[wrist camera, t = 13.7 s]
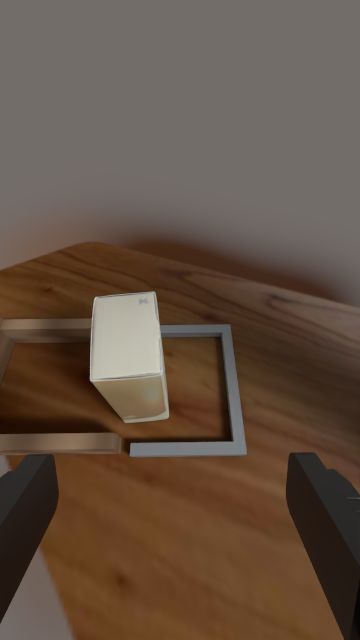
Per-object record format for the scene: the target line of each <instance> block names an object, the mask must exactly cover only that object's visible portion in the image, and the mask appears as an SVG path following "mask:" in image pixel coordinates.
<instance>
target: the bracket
mask: <svg viewBox="0 0 360 640" xmlns="http://www.w3.org/2000/svg"><path fill="white" fill-rule="evenodd" d="M160 331H161V337H221V342H222V352H223V361H224V371H225V381H226V390H227V400H228V409H229V419H230V429H231V438H232V442H173V443H131V445H130V456H131V457H180V456H245V455H246V454H247V451H246V443H245V435H244V428H243V420H242V412H241V404H240V396H239V389H238V381H237V373H236V365H235V357H234V350H233V342H232V334H231V326H230V324H215V325H160Z"/></svg>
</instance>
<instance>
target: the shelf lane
mask: <svg viewBox="0 0 360 640" xmlns="http://www.w3.org/2000/svg"><path fill="white" fill-rule="evenodd" d="M91 326H92V318H85V319H3V318H2V317H1V316H0V385H1V382H2V379H3V376H4V374H5V371H6V368H7V365H8V362H9V359H10V356H11V353H12V350H13V348H14V345H15V343H76V342H91ZM121 442H122V439H121V438H120V437H119V436H118V435H117V434H116V433H57V434H0V455H29V454H120V453H121Z"/></svg>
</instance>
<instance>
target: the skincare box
mask: <svg viewBox="0 0 360 640" xmlns="http://www.w3.org/2000/svg"><path fill="white" fill-rule="evenodd" d="M90 381H91V382H92V383H93V384H94V386H95V387H96V388H97V389H98V391H99V392H100V393H101V394H102V396H103V397H104V398H105V399H106V400H107V402H108V403H109V404H110V405H111V406H112V408H113V409H114V410H115V411H116V412H117V414H118V415H119V416H120V417H121V419H122V420H123V421H124V422H125V423H132V422H144V421H153V420H162V419H167V418H168V417H169V408H168V395H167V384H166V374H165V366H164V358H163V349H162V340H161V331H160V323H159V315H158V306H157V298H156V293H155V292H141V293H130V294H118V295H108V296H102V297H95V299H94V304H93V313H92V326H91V347H90Z"/></svg>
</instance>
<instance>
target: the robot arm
mask: <svg viewBox="0 0 360 640" xmlns="http://www.w3.org/2000/svg"><path fill="white" fill-rule="evenodd" d="M58 497H59V491H58V483H57V475H56V467H55V460H54V456H53V455H52V454H29V455H27V456H26V457H25V458H24V459H23V460H22V462H21V463H20V464H19V465H18V467H17V468H16V469H15V471H8V472H7V473H6V474H4V475H3V476H2V477H1V478H0V623H1V621H2V619H3V617H4V615H5V613H6V611H7V609H8V607H9V605H10V603H11V601H12V598H13V597H14V595H15V593H16V591H17V589H18V587H19V585H20V583H21V581H22V578H23V576H24V574H25V572H26V570H27V568H28V566H29V564H30V562H31V560H32V558H33V556H34V554H35V552H36V550H37V548H38V546H39V544H40V542H41V540H42V538H43V536H44V534H45V532H46V530H47V528H48V526H49V524H50V522H51V520H52V517H53V515H54V513H55V511H56V508H57V504H58ZM286 499H287V505H288V508H289V512H290V514H291V516H292V519H293V521H294V523H295V526H296V528H297V530H298V533H299V535H300V537H301V540H302V542H303V544H304V547H305V549H306V551H307V554H308V556H309V558H310V561H311V563H312V565H313V568H314V570H315V572H316V575H317V577H318V579H319V582H320V584H321V586H322V589H323V591H324V593H325V596H326V598H327V600H328V603H329V605H330V607H331V610H332V612H333V614H334V617H335V619H336V621H337V623H338V626H339V628H340V630H341V633H342V635H343V637H344V640H360V495H359V493H358V492H357V491H356V489H355V488H354V487H353V485H352V484H351V483H350V482H349V481H348V480H347V479H346V478H344V477H343V476H342V475H340V474H339V473H338V472H337V471H335V470H334V469H326V467H325V466H324V465H323V463H322V462H321V460H320V459H319V457H318V456H317V455H316V454H315V453H313V452H303V453H290V455H289V460H288V471H287V483H286Z"/></svg>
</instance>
